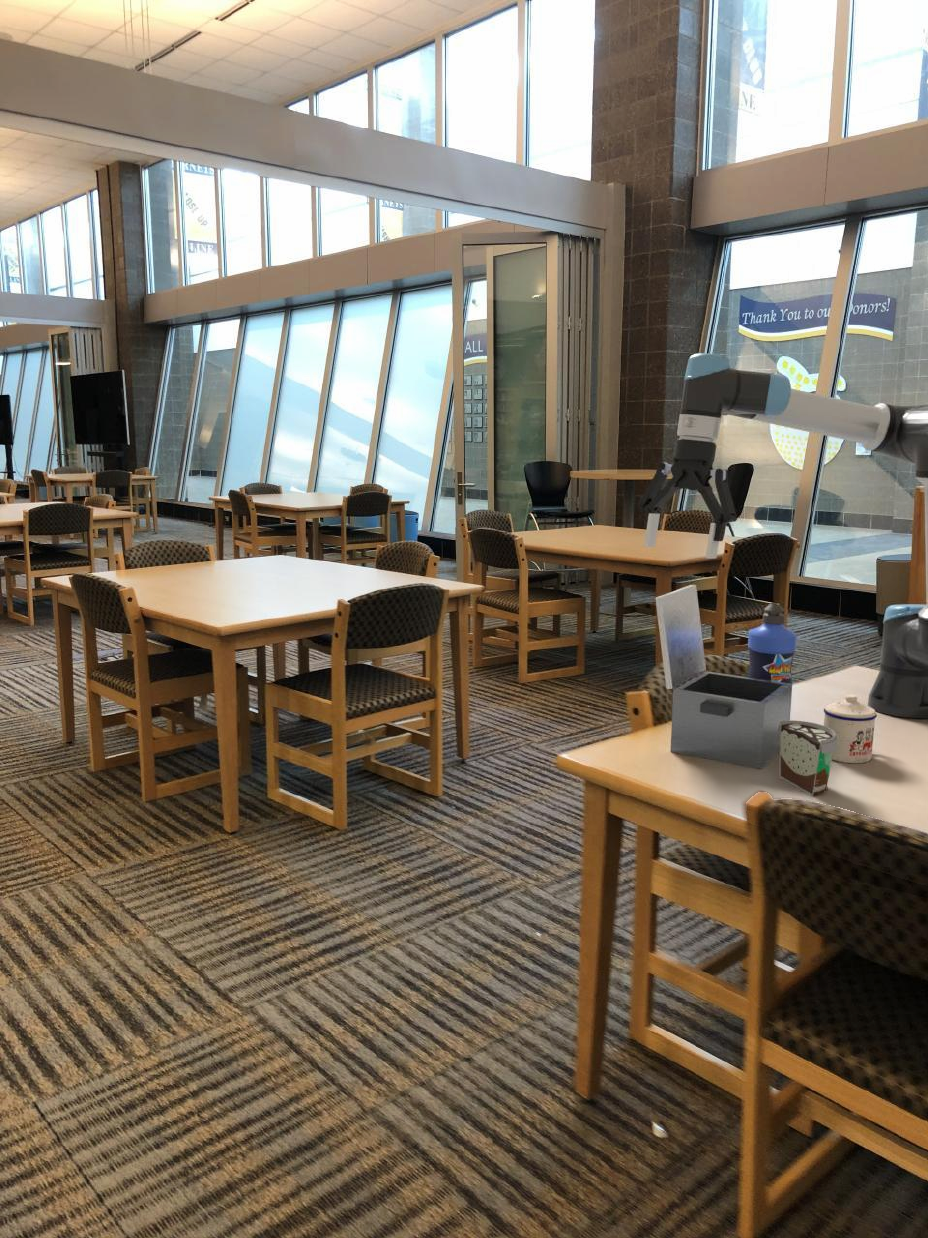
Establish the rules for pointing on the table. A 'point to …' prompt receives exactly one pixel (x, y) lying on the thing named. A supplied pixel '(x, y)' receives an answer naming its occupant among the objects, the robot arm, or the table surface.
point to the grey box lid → (680, 635)
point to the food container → (806, 754)
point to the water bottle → (772, 648)
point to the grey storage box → (729, 718)
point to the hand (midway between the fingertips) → (679, 552)
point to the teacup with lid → (851, 729)
